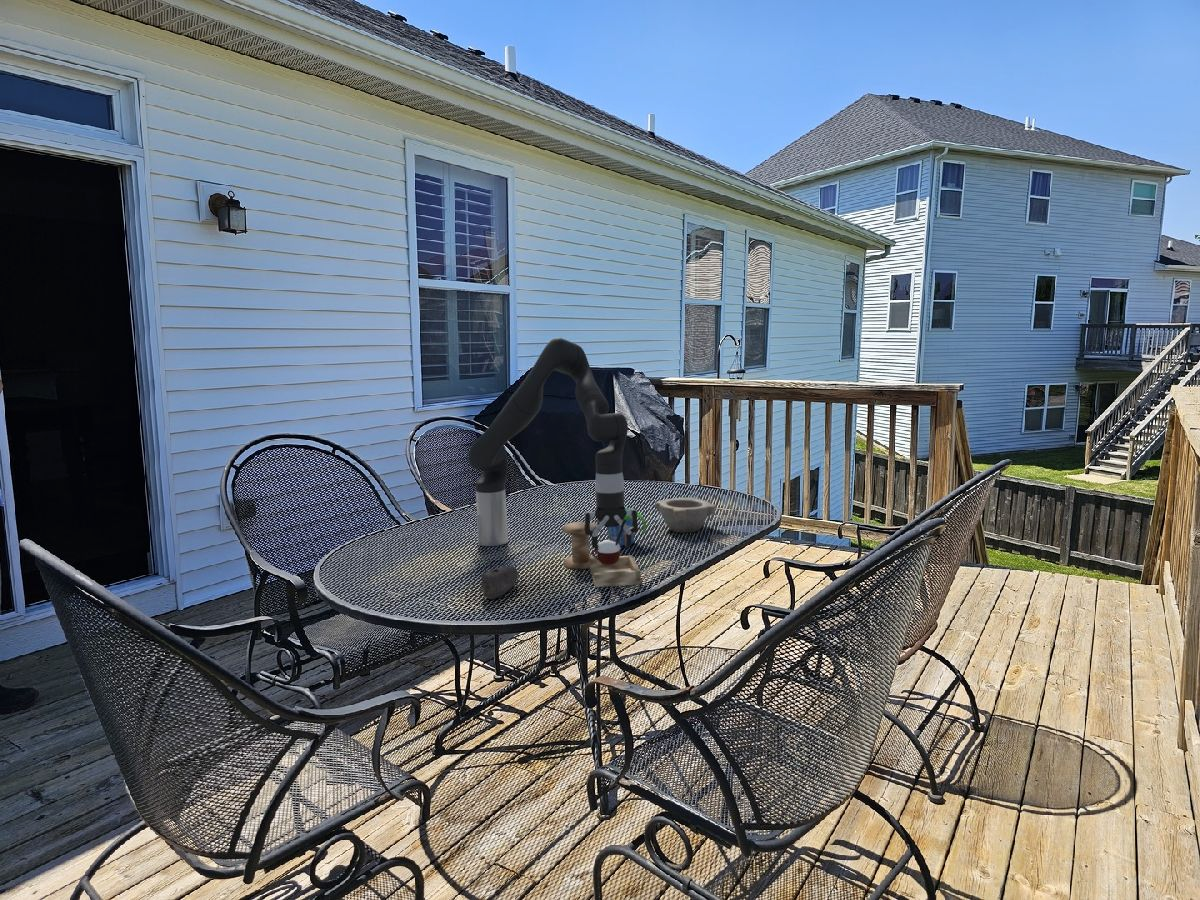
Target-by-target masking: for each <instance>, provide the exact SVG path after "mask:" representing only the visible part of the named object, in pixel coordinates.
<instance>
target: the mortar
mask: <svg viewBox="0 0 1200 900" xmlns="http://www.w3.org/2000/svg"><path fill="white" fill-rule="evenodd" d="M654 507H655V509H656V511H657V512H658V513H660V514H661V515H660V516H662V519H663V521H664V522H665V524H666V526H667V527H668V528H669V530H670V531H672V532H675V533H693V532H698V531H699V530H701V528H702V527H703V526H704V524H705V522H706V520H707V519H708V517H710V516H712V515H713V514H714V513H716V511H717V509H718V508H717V505H716V504H713V503H710V502H709V501H707V500H703V499H700V498H696V497H692V496H690V497H689V496H687V497H677V498H676V497H675V498H666V499H661V500H658V501H656V502H655V503H654Z"/></svg>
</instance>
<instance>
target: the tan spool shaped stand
mask: <svg viewBox="0 0 1200 900" xmlns="http://www.w3.org/2000/svg"><path fill="white" fill-rule="evenodd" d="M595 525H596V523H594V522H590V530H593V528H594V527H595ZM561 527H562V528H561V531H562V533H564V534H566V535H570V536H571V556H569V557H566V558H565V559H563V566H564V567H565V568H567V569H572V570H587V569H589V570H590V558H595V557H594V556H593V555H591V553H590V535H586V534H585V521H578V522H577V521H575V522H569V523H565V524H564V525H562V526H561Z"/></svg>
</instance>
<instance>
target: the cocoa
mask: <svg viewBox="0 0 1200 900" xmlns="http://www.w3.org/2000/svg"><path fill="white" fill-rule="evenodd" d="M625 523H626V519H625V520H624V521H623V524H622V526H621V529H620V532H619V535H618V538H617V541H616V542H613V541H611V540H609V539H605V540H603V541H600V542H598V550H595V549H593V550H592V551H591V554H592V555H591V556H594V557H595V558H596V559H597V560H599V561H600V562H601V563H602V564H604V565H613V564H615V563H616V562H617V561H618V560H619V557H620V556H621V546H620V545H619V544H618V543H619V540H620V537H621V534H622V532H623V527H624V525H625ZM594 552H596V555H595V553H594Z"/></svg>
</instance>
